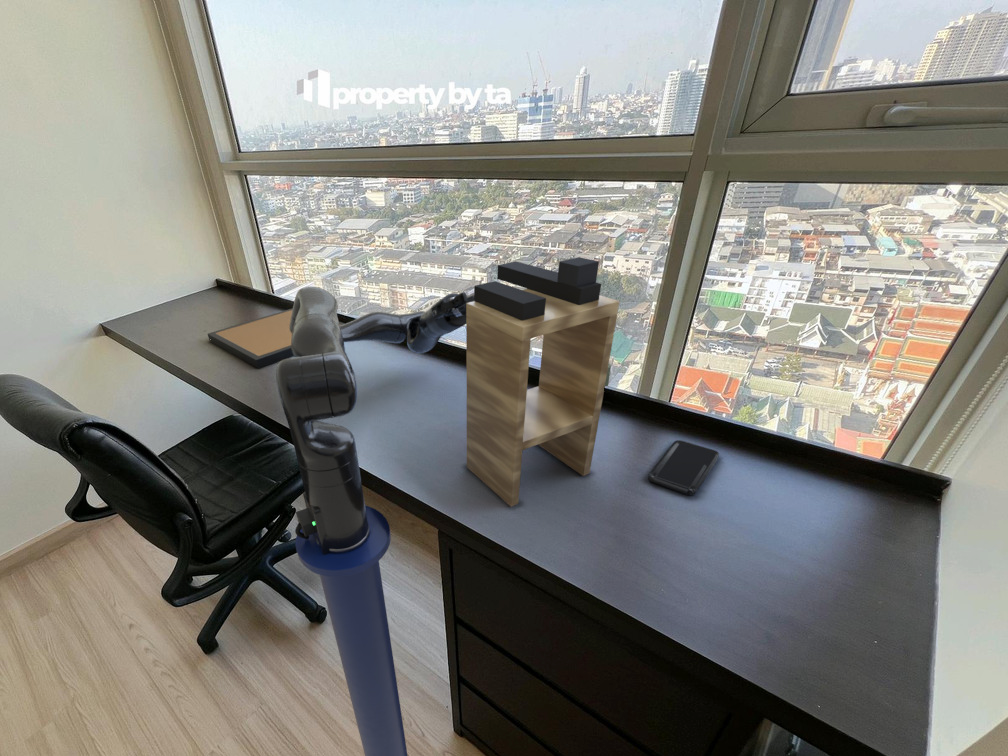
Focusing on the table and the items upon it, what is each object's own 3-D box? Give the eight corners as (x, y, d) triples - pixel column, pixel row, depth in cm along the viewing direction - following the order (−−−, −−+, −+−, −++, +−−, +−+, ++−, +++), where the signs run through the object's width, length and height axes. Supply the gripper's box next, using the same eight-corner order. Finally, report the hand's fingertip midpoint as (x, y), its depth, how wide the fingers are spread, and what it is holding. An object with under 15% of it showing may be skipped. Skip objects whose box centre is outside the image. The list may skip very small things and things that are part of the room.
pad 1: (522, 320, 67) (523, 303, 66) (474, 301, 76) (474, 285, 75) (544, 315, 68) (546, 298, 67) (494, 296, 77) (495, 281, 76)
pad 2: (578, 305, 71) (583, 267, 68) (497, 279, 86) (498, 247, 83) (599, 299, 72) (604, 262, 69) (515, 275, 87) (516, 243, 84)
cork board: (298, 314, 183) (209, 341, 164) (297, 306, 181) (207, 333, 162) (354, 334, 160) (258, 368, 141) (352, 326, 158) (255, 359, 140)
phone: (647, 475, 85) (676, 438, 94) (646, 480, 86) (675, 443, 95) (695, 492, 81) (721, 452, 89) (694, 497, 81) (719, 457, 90)
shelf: (511, 507, 83) (522, 327, 65) (466, 467, 93) (466, 302, 76) (589, 473, 89) (619, 300, 71) (539, 439, 100) (555, 282, 82)
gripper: (477, 324, 113) (517, 304, 97) (424, 338, 108) (458, 319, 92) (469, 293, 112) (507, 268, 97) (415, 305, 107) (447, 281, 92)
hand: (483, 293), depth 95 cm, fingers open, 8 cm apart
